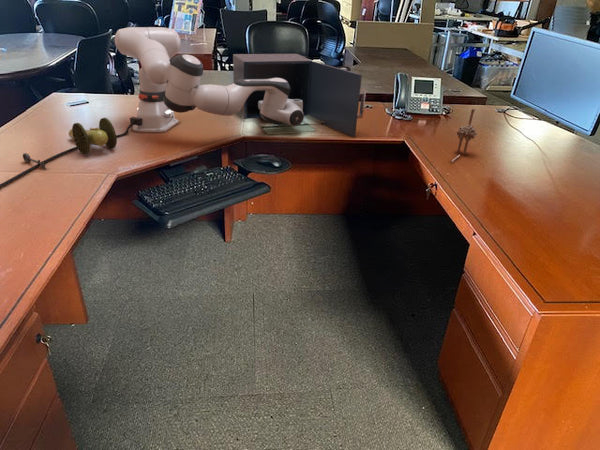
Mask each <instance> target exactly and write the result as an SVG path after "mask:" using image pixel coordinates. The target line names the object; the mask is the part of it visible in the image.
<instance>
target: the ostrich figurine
mask: <svg viewBox="0 0 600 450" xmlns="http://www.w3.org/2000/svg"><path fill="white" fill-rule="evenodd" d="M470 111H471V112H470V115H469V120H468V124H465V125H464V126H460V127H459V128H458V130H457V132H456V136H457V138H458V139H459V142H458V146H457V151H456V154H458V155H457V156H455V157H454V158H453V159H452V160H451V163H453V162H454V161H456V160H457V159H458V158H459V157H460V153H461V149H462V144H463V140H465V144H464V147H463V152H462V155H463V156H466V155H467V150H468V145H469V142H470V141H471V140H472V139H473V140H474V139H475V137H476V136H477V135H478V132H477V130H476V129H475V127H474V125H472V121H473V117H474V114H475V111H476V108H474V107H473V108H471V110H470Z"/></svg>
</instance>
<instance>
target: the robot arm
mask: <svg viewBox="0 0 600 450" xmlns="http://www.w3.org/2000/svg"><path fill="white" fill-rule="evenodd" d="M114 44H115V45H114V46H115V47H116V49H117V51H118V52H119V53H120V54H121V55H123V56H127V57H131V58H133V59H135V60H137V62H139V63H140V66H141V67H140V68H139V70H138V73H137V74H138V75H137V76H138V81H139V93H138V99H139V101H138V106H137V111H136V116H131V117H129V122H130V124H129V125H128V126H127V127H126V130H125V131H124V132H123V133H120V134H116V138H117V139H118V138H121V137H124V136H126V135H127V134H128V133H129V132H130V129H131V128H132V131H133V132H139V133H164V132H168V131H169V130H170V129H172V127H174V126H176V125H177V124H179V123H180V121H179V119H177V118H176V115H175V113H179V114H180V113H188V112H189V111H190V112H191V111H194V110H195V109H196V108H197V109H198V110H200V111H202V112H204V113H208V114H212V115H215V116H216V115H217V116H224V117H231V116H234V115H236V114H237V113H239V112H238V111H240V109H241V108H242V107H243V105H244V103H245V101H246V100H247V98H248V97H249V95H250V94H251V93H252V92H254V91H260V90H266V92H265V95H264V99H263V101H259V102H258V108H259V109H260V115H261V116H262V118H261V119H263V120H264V121H265V122H267V123H269V124H272V125H274V126H279V125H285V124H286V125H291V126H298V125H300V124H303V121H304V119H305V116H304V113H303V101H302V100H300V99H288V96H289V93H290V91H291V88H290V85H289V83H288V81H286V80H284V79H282V78H268V79H239V80H236V81H235V82H234V81H233V83H231V84H229V85H220V84H210V83H209V84H207V83H206V84H200V83H201V79H202V76H203V74H204V64H203V63H202V61H201V60H200V59H198V58H197V57H196V56H195V55H194V56H193V55H192V54H188V53H181V54H178V53H179V51H180V49H181V46H182V41H181V37H180V35H179V34H178V32H177V31H176V30H175V29H173V28H169V27H164V26H163V27H162V26H157V27H156V26H146V27H145V26H143V27H142V26H141V27H140V26H129V27H124V28H120V29H118V30H116V32H115V34H114ZM91 145H92V144H90V146H91ZM76 150H78V148H77V146H74V147H72V148H68V149H67V150H64V151H62V152H59V153H57V154H55V155H53V156H50V157H48V158H46V159H45V160H42V161H43V163H44V164H45V165H46V164H47V163H48V162H51V161H53V160H56V159H57V158H59V157H61V156H64V155H66V154H69V153H71V152H74V151H76ZM42 161H40V162H41V163H42ZM39 167H41V165H40V164H38V163H36V164H35V165H33V166H31V167H29V168H28V169H25V170H24V171H22V172H20V173H18V174H17V175H14V176H13V177H11V178H9V179H8V180H5V181H4V182H2V183H0V189H1V188H3V187H5V186H7V185H9V184H11V183H12V182H14V181H16V180H18V179H20V178H22V177H23V176H25V175H27V174H29V173H30V172H32V171H34V170H36V169H37V168H38V169H39Z"/></svg>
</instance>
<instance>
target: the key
mask: <svg viewBox="0 0 600 450" xmlns="http://www.w3.org/2000/svg"><path fill="white" fill-rule="evenodd" d="M22 158H23V161H24V162H25V163H28V164H29V163H31V162H34V163H36V164H40V165H41V166H40V168H41V169H42V170H46V163H45V164H44V163H43V161H44V160H40V159H38V160H36V159H33V158H31V155H30V154H29V153H26V152H23V153H22ZM41 162H42V163H41Z"/></svg>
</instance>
